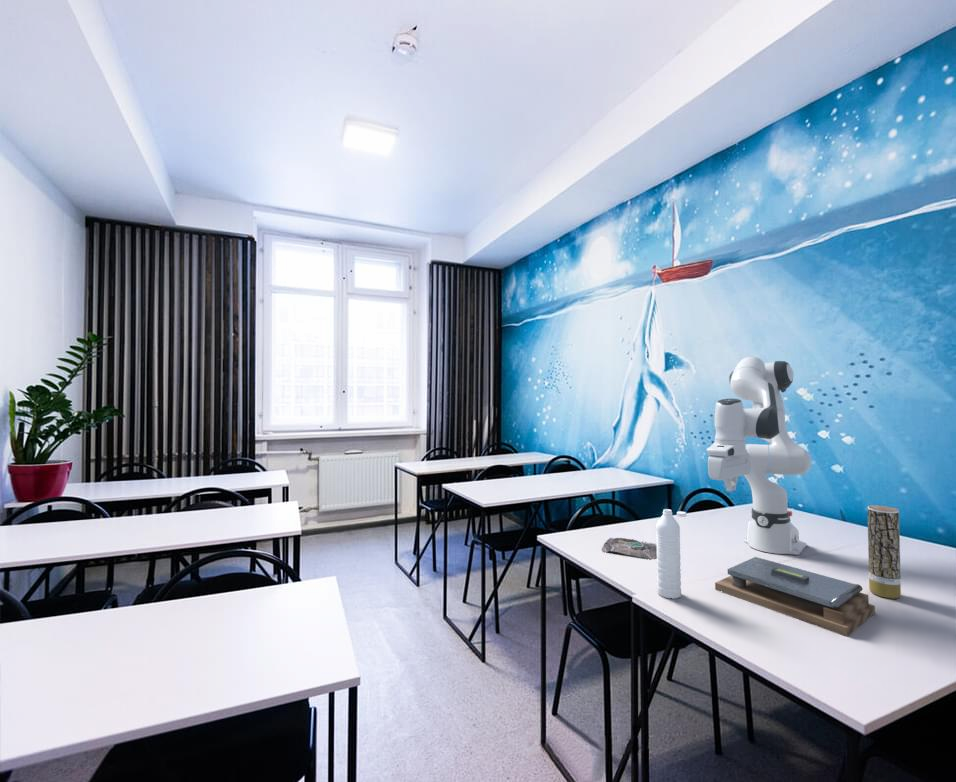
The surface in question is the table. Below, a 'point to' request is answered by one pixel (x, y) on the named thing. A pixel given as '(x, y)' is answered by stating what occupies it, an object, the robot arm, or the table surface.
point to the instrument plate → (796, 582)
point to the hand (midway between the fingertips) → (730, 490)
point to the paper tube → (884, 551)
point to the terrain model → (630, 548)
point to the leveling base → (802, 605)
